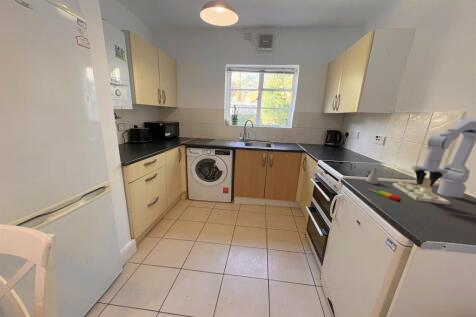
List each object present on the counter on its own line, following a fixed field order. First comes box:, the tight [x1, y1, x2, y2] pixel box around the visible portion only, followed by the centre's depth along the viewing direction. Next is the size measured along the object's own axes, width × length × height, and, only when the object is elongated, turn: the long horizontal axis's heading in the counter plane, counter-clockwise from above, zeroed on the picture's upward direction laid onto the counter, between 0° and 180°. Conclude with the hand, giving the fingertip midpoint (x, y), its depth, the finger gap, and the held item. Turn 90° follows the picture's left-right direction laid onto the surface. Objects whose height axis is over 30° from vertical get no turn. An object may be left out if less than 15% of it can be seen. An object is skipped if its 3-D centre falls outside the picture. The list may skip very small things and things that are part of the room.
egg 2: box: [420, 186, 433, 195], centre depth 103 cm, size 4×4×5 cm
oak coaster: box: [397, 181, 413, 185], centre depth 120 cm, size 8×8×1 cm
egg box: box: [392, 182, 451, 206], centre depth 104 cm, size 14×21×2 cm
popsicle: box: [366, 188, 401, 202], centre depth 101 cm, size 6×15×2 cm, turn 33°
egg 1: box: [417, 176, 431, 189], centre depth 96 cm, size 4×4×5 cm
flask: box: [365, 166, 380, 185], centre depth 118 cm, size 7×7×10 cm
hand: (424, 184), depth 97 cm, fingers closed on egg 1, 4 cm apart
